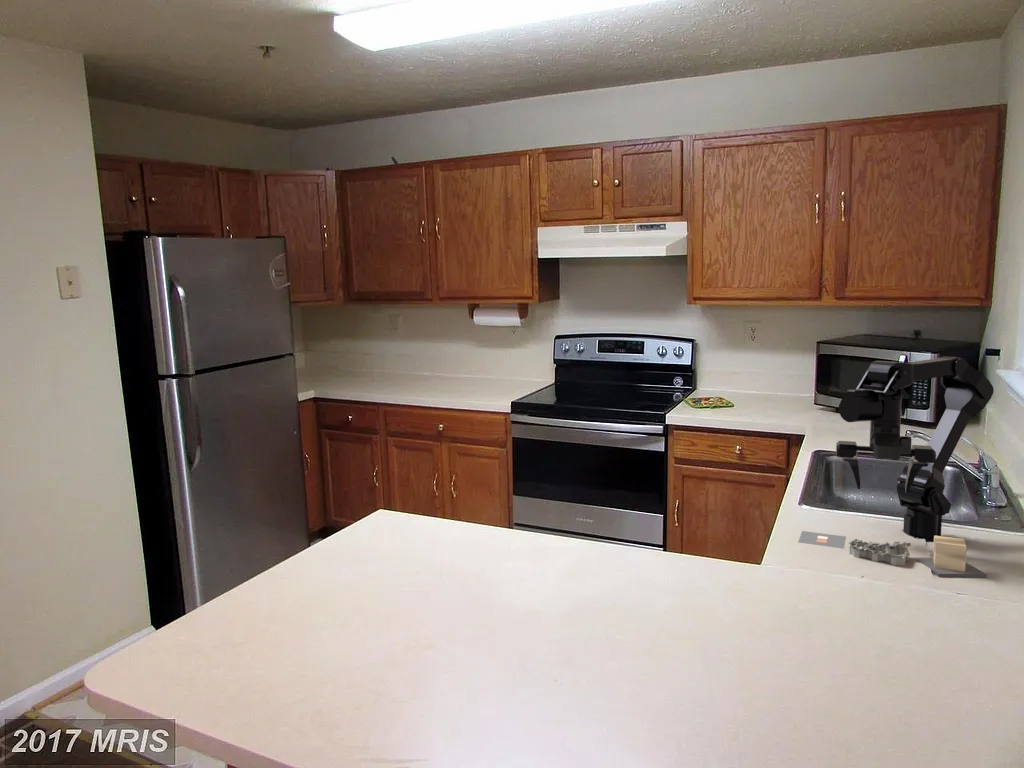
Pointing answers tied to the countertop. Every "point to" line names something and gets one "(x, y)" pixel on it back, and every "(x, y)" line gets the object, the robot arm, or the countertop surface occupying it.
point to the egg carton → (881, 551)
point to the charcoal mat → (939, 572)
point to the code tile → (822, 539)
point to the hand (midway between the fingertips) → (882, 490)
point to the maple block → (949, 553)
